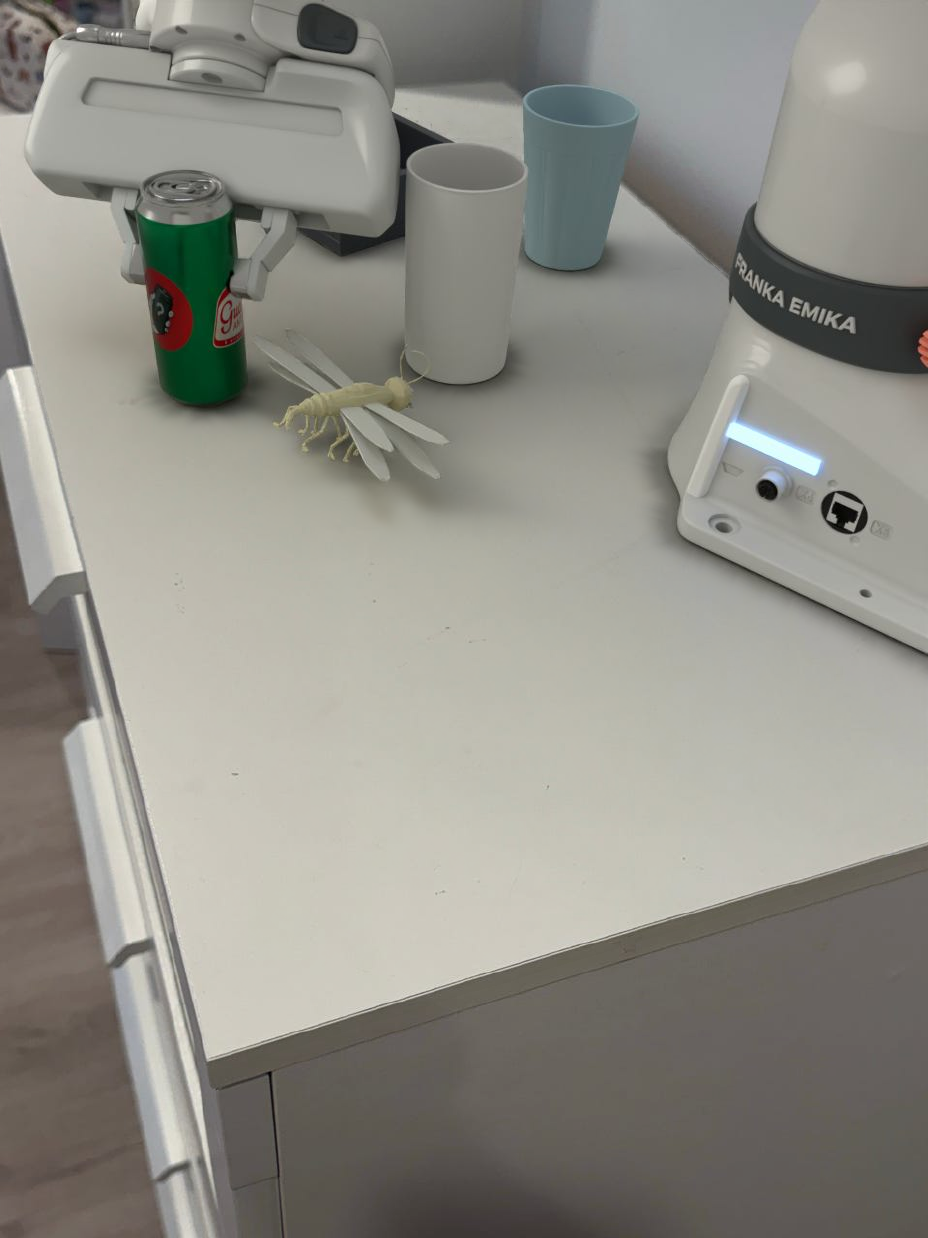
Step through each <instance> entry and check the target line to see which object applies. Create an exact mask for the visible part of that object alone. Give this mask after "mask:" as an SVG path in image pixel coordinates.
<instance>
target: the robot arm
mask: <svg viewBox="0 0 928 1238" xmlns="http://www.w3.org/2000/svg"><path fill="white" fill-rule="evenodd" d="M395 97H396V79H395V72H394V67H393V62H392V59H391V57H390V53H389V51H388V48H387V45H386V43H385V40H384V38H383V36H382V34H381V33H380V31H379V29H378V27H376V26H375V25H374V23H372V22H370V21H368V20H366V19H364V18H362V17H361V16H357V15H355V14H354V13H351V12H349V11H346V10H344V9H343V8H340V7H338V6H335V5H334V4H332V3H329V2H327V1H326V0H157V2H156V9H155V14H154V20H153V25H152V30H151V31H145V30H137V29H136V28H109V27H103V26H102V25H99V24H94V23H82V24H78V25H77V27H76V28H75V30H70V31H67V32H65V33H63V34H61V35H60V36H59V37H57V38H56V39H54V40H52V41H51V43H50V45H49V46H48V50H47V52H46V59H45V64H44V69H43V82H42V84H41V87H40V89H39V92H38V95H37V97H36V101H35V103H34V107H33V110H32V113H31V116H30V121H29V124H28V127H27V132H26V134H25V135H26V136H25V140H24V144H23V156H24V159H25V161H26V164H27V165H28V167H29V168H30V170H31V172H32V173H33V175H34V176H35V177H36V178H37V179H38V180H39V181H40V182H41V183H42V184H43V185H44V186H45V187H46V188H47V189H48V190H50V191H51V192H53V193H54V194H55V195H57V196H62V197H69V198H76V199H85V200H90V201H91V200H92V201H97V202H107V203H110V205H109V208H110V212H111V213H112V217H113V219H114V222H115V225H116V227H117V230H118V232H119V235H120V237H121V240H122V242H123V244H124V246H123V253H122V258H121V264H120V275H121V278H123V279H124V280H125V281H126V282H127V283H128V284H132V285H133V284H134V285H138V286H139V285H140V286H146V284H145V277H144V270H143V263H142V256H141V249H140V242H139V235H138V228H137V221H136V214H135V205H136V203H137V201H138V199H139V197H140V195H141V194H140V185H141V183H142V182H143V181H144V180H145V179H146V178H148V177H150V176H152V175H155V174H158V173H161V172H166V171H173V170H196V171H202V172H207V173H210V174H213V175H215V176H217V177H219V178H220V179H221V180H222V181H223V182H224V184H225V192H226V193H227V195H228V196H229V197H230V198H231V200H232V201H233V203H234V211H235V220H241V221H248V222H256V223H260V227H261V228H262V230H263V232H264V233H265V234H266V235H265V236H264V238H263V239H262V241H261V242H260V243H259V244H258V245H257V247H256V248H255V249H254V251H253V252H252V254H251V255H250V256H249V257H248V258H243V257H238V258H235V262H234V266H233V269H232V270H233V272H234V275H233V276H232V277H231V279H230V291H231V293H232V294H234V295H235V297H236V298H241V299H242V300H248V301H252V302H263V301H264V299H265V294H266V289H267V284H268V279H269V278H268V277H269V273H271V272H273V271H274V269H275V268H276V267H277V266H278V265H279V263H280V262H281V261H282V260H283V259H284V258H285V256H286V255H287V254H288V253H289V252H290V251H291V249H292V248H293V247H294V246H295V240H296V235H297V231H298V230H297V227H300V228H307V229H315V230H322V231H330V232H337V233H345V234H352V235H360V236H367V237H379V236H380V235H381V234H383V233H384V232H385V231H386V230H387V229H388V228H389V227H390V226H391V225H392V224H393V223H394V220H395V217H396V211H397V204H398V195H399V183H400V143H399V137H398V133H397V129H396V125H395V121H394V117H393V114H392V112H393V111H392V109H393V106H394V103H395V99H396V98H395ZM761 180H762V181H761V185H760V189H759V193H758V197H757V201H755V202H754V203H753V204H752V205H751V206H750V207H749V208H748V209H747V211H746V213H745V216H744V219H743V223H742V226H741V230H740V234H739V237H738V241H737V244H736V249H735V253H734V256H733V261H732V265H731V270H730V274H729V277H728V278H729V279H728V302H729V306H728V309H727V313H726V315H725V319H724V323H723V325H722V328H721V332H720V334H719V337H718V339H717V343H716V346H715V349H714V351H713V354H712V357H711V359H710V362H709V365H708V366H707V370H706V372H705V374H704V376H703V379H702V381H701V383H700V385H699V387H698V390H697V393H696V395H695V396H694V399H693V400H692V403H691V404H690V407H689V409H688V411H687V412H686V414H685V415H684V418H683V420H682V421H681V423H680V424H679V426H678V428H677V429H676V431H675V432H674V434H673V435H672V437H671V438H670V441H669V444H668V447H667V455H666V456H667V457H666V458H667V466H668V471H669V473H670V476H671V479H672V481H673V483H674V486H675V488H676V489H677V491H678V494H679V500H680V501H679V506H678V511H677V516H676V526H677V530H678V532H679V535H681V536H682V537H683V538H685V539H686V540H687V541H689V542H690V543H693V544H694V545H697V546H699V547H701V548H703V549H705V550H707V551H710V552H711V553H713V554H716V555H717V556H719V557H722V558H724V559H726V560H728V561H731V562H732V563H735V564H737V565H739V566H741V567H743V568H745V569H747V570H749V571H752V572H753V573H756V574H758V575H760V576H762V577H764V578H766V579H769V580H770V581H772V582H774V583H777V584H779V585H780V586H783V587H785V588H787V589H789V590H792V591H794V592H796V593H798V594H800V595H802V596H804V597H806V598H808V599H810V600H813V601H815V602H817V603H819V604H821V605H823V606H825V607H828V608H829V609H832V610H834V611H836V612H837V613H841V614H842V615H844V616H846V617H849V618H851V619H853V620H855V621H857V622H859V623H861V624H863V625H865V626H867V627H870V628H872V629H874V630H876V631H878V632H880V633H882V634H884V635H886V636H889V637H890V638H893V639H895V640H897V641H898V642H900V643H903V644H906V645H908V646H910V647H912V648H913V649H916V650H918V651H920V652H922V653H925V654H927V655H928V0H819V1H818V3H817V5H816V6H815V8H814V9H813V11H812V12H811V14H810V15H809V17H808V19H807V20H806V21H805V23H804V25H803V27H802V29H801V31H800V33H799V35H798V37H797V39H796V43H795V44H794V47H793V50H792V53H791V58H790V61H789V67H788V69H787V75H786V78H785V83H784V87H783V91H782V96H781V100H780V104H779V108H778V113H777V117H776V121H775V126H774V129H773V134H772V139H771V142H770V146H769V151H768V155H767V159H766V163H765V167H764V171H763V176H762V179H761Z"/></svg>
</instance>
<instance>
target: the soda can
mask: <svg viewBox="0 0 928 1238" xmlns="http://www.w3.org/2000/svg"><path fill="white" fill-rule="evenodd" d="M140 194H141V195H140V197H139V199H138V201H137V203H136V205H135V214H136V221H137V228H138V235H139V242H140V249H141V256H142V263H143V270H144V277H145V284H146V285H145V291H146V299H147V305H148V311H149V319H150V324H151V325H150V326H151V333H152V340H153V347H154V354H155V355H154V356H155V360H156V361H155V362H156V368H157V376H158V383H159V386H160V388H161V389H162V391H163V392H164V393H166V394H167V395H168V396H169V397H170V398H171V399H173V400H174V401H176V402H178V403H180V404H182V405H186V406H191V407H199V408H200V407H202V408H204V407H205V408H206V407H213V406H218V405H222V404H225V403H227V402H228V403H229V402H230V401H232V400H233V399H235V398H236V397H237V396H238V395H239V394H240V393H241V392H242V391H243V390H244V388H245V387H246V386H247V383H248V380H249V370H248V359H247V347H246V334H245V321H244V310H243V309H244V308H243V299H241V298H236V297H235V295H234V294H232V293H231V291H230V279H231V277H232V276H233V275H234V272H233V270H232V269H233V266H234V262H235V258H239V250H238V237H237V226H236V219H235V211H234V203H233V201H232V200H231V198H230V197H229V196H228V195H227V193H226V192H225V184H224V182H223V181H222V180H221V179H220V178H219V177H217V176H215V175H213V174H210V173H207V172H202V171H196V170H173V171H166V172H161V173H158V174H155V175H152V176H150V177H148V178H146V179H145V180H144V181H143V182H142V183H141V185H140Z"/></svg>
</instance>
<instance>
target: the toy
mask: <svg viewBox="0 0 928 1238" xmlns="http://www.w3.org/2000/svg"><path fill="white" fill-rule="evenodd" d="M284 332H285V336H286V339H287V342H288V343H289V344H290V345H291V346H293V348H295V349H296V350H297V352H298V353H300V355H302V357H304V358H305V359H306V360H308V361H309V362H310V363H312V365H314V366H315V367H316V368H317V369H316V368H315V367H313V366H311V365H309V364H307V363H305V362H303V361H300V360H299V359H297V358H296V356H295V357H294V356H293V355H292V354H291V353H289V352H288V351H286V350H284V349H283V348H282V347H280V346H278V345H277V344H275V343H274V342H272V341H271V340H268V339H267V338H264V337H263V336H260V335H257V334H256V335H253V336H252V340H253V342H254V344H255V345H256V346H257V347H258V348H259V349H260V350H261V351H262V352H263V353H265V354H266V355H267V356H269V357H270V358H271V359H272V360H273V361H275V362H273V361H269V362H268V363H267V364H268V366H269V368H270V369H271V370H272V371H273V372H275V373H276V374H277V375H280V376H281V377H282V378H283V379H285V380H287V381H289V382H291V383H292V384H295V385H296V386H298V387H300V388H302V389H304V390H306V391H308V392H310V393H311V394H313V395H312V396H311V397H310V398H309V397H307V398H305V399H304V400H303V401H301V402H300V403H299V404H298V405H297V404H295V405H290V406H288V407H287V410H286V411H285V415H284V416H283V419H282V420H281V422H280V423H279V422H276V421H273V422H272V425H273V427H274V428H275V429H276V430H277V429H279V428H282V427H283V426H285V430H286V432H289V431H290V430H289V429H290V427H291V424H292V422H293V420H294V416H295V415H296V414H301V415H302V416H305V427H304V429H299V430H298V431H297V432H298V434H301V436H302V437H306V435H307V432H308V431H309V429H310V418H313V417H314V418H315V421H314V425H313V430H311V431H310V434H311V436H309V437H308V438H306V439H304V441H303V443H302V444H301V451H302V452H303V453H305V454H309V449H308V447H307V444H309V443H310V442H311V441H313V440H315V439H316V438H317V437H319V436H322V435H323V434H324V433H325V429H326V427H327V424H328V421H329V418H332V420H333V421H334V424H335V428H336V431H337V437H335V439H336V441H334V443H331V445H330V447H329V451H328V453H327V457H328V458H331V460H333V461H336V457H335V454H334V453H333V452H334V448H336V447H337V446H339V444H341V443H342V442H343V441H345V440H346V439H347V438H348V437H349V435H350V436H351V438H352V440H353V441H352V442H351V444H350V445H349V447H348V449H347V451H346V453H345V454H344V457H343V459H342V460H343V462H344V463H350V459H349V457H350V456H351V453H352V451H353V448H354V446H355V447H356V449H355V450H354V451H353V453H352V455H353V456H355V457H359V455H360V456H361V458H362V460H363V462H364V465H365V466H366V467H367V468H368V469H369V470H370V472H371V473H372V474H373V475H374V476H375V477H376V478H377V479H378V480H380V481H381V482H386V483H389V482H390V481H391V472H390V469H389V467H388V464H387V461H386V458H385V455H384V454H383V453H382V450H384V451H386V452H388V453H392V452H393V451H394V447H395V448H396V449H397V450H398V452H400V453H401V454H402V456H404V458H406V459H407V460H408V461H409V462H410V463H411V464H412V465H413V466H414V467H415V468H416V469H418V470H419V471H421V472H423V473H424V474H426V475H428V476H430V477H432V478H433V479H434V480H438V481H439V480H441V479H442V475H441V473H440V471H439V469H438V468H437V467H436V465H435V464H434V463H433V462H432V460H431V459H430V457H429V456H428V455H427V454H426V453H425V452H424V451H423V450H422V449H421V447H420V446H419V445H418V444H417V443H416V442H415V441H414V440H413V439H412V438H411V437H410V436H409V435H408V434H407V433H406V432H408V433H409V434H411V435H413V436H415V437H417V438H419V439H421V440H423V441H425V442H427V443H431V444H435V445H438V446H443V447H444V446H449V445H450V443H451V442H450V441H449V440H448V438H446V437H445V436H444V435H443V434H441V433H439V432H438V431H436V430H434V429H432V428H430V427H427V425H424V424H422V423H420V422H418V421H417V420H413V419H412V418H410V417H408V416H406V415H404V414H402V413H400V412H401V411H404V409H412V408H413V407H414V406H413V402H412V399H413V393H414V389H413V388H412V387H411V386H410V384H411V383H414V382H416V381H419V380H420V379H422V378H423V377H424V375H426V373H427V372H428V370H429V369H430V367H428V368H429V369H428V368H427V369H428V370H426V371H427V372H426V371H425V372H426V373H425V372H424V373H425V374H423V375H420V376H419V377H418V378H416V379H413V380H410V381H408V382H407V381H406V380H404V379H403V374H402V361H403V358H404V356H405V349H406V347H407V346H408V344H407V343H406V346H405V345H404V349H402V352H401V355H400V357H399V361H400V362H399V371H400V377H398V376H392V377H390V378H388V379H386V382H385V383H384V386H383V385H377V384H375V383H371V382H365V381H361V382H354V381H353V380H352V379H351V378H350V377H349V376H348V375H347V374H346V373H344V372H343V371H342V370H341V369H340V368H339V367H338V366H337V365H336V364H334V362H333V361H332V360H330V358H328V356H326V354H324V353H323V352H322V351H321V350H320V349H319V348H318V347H317V346H315V345H314V344H312V343H311V342H310V341H309V340H307V339H306V338H304V337H303V336H302V335H300V334H298V332H295V331H294V330H293V329H290V328H286V329H284ZM414 352H419V353H421V354H422V355H424V356H425V357H426V358H427V360H428V361H429V359H428V357H427V356H426V355H425V354H424V353H422V352H420V351H414ZM276 362H277V363H276ZM428 366H430V362H428ZM386 405H387V406H386ZM337 417H341V418H342V420H343V422H344V424H345V433H344V434H343V435H342V429H341V427H340V424H339V421H338V418H337ZM321 418H324V421H323V423H322V426H321V428H320V430H318V427H319V422H320V419H321ZM381 449H382V450H381Z"/></svg>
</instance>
